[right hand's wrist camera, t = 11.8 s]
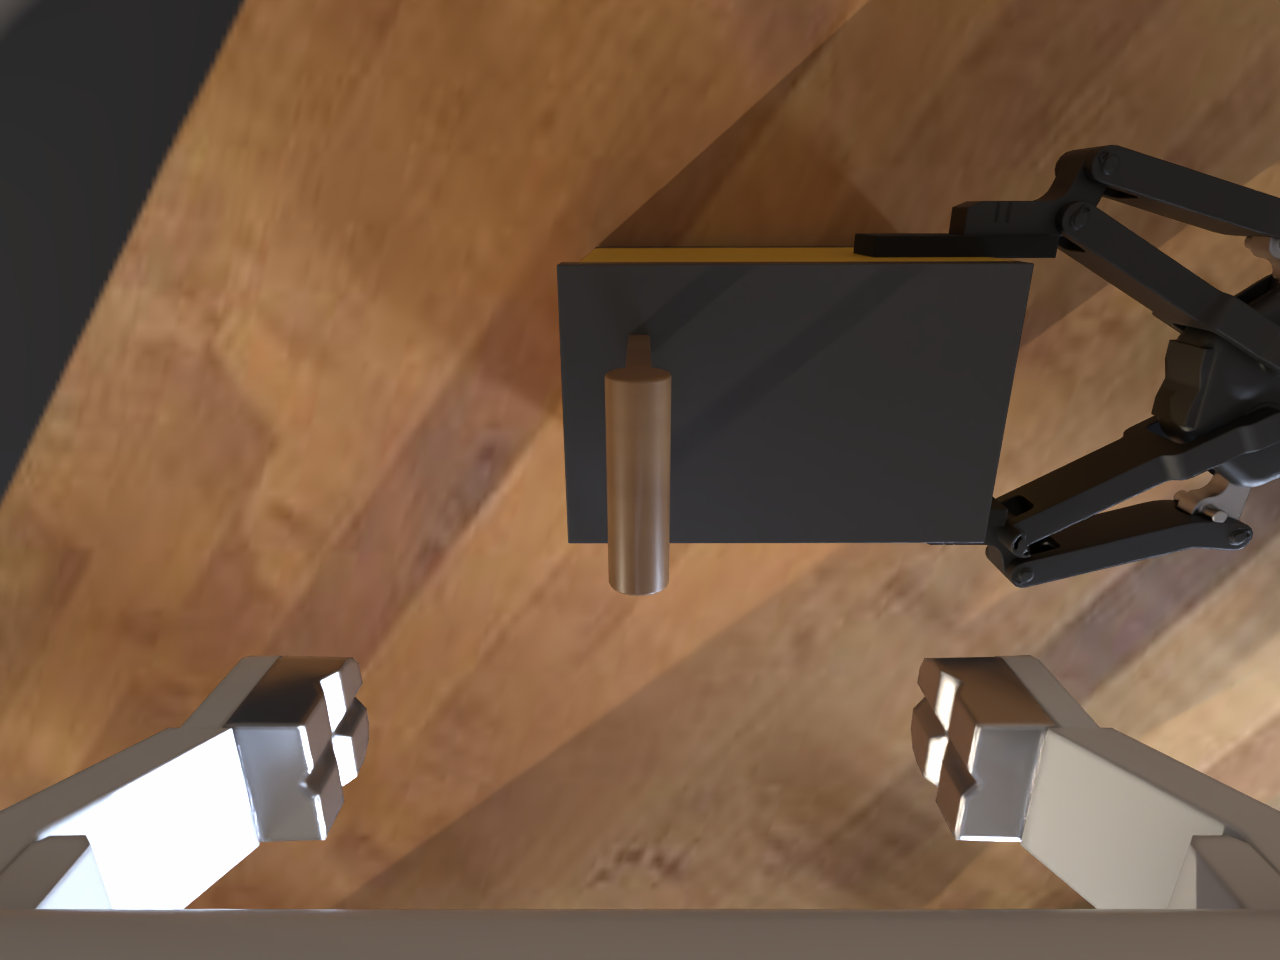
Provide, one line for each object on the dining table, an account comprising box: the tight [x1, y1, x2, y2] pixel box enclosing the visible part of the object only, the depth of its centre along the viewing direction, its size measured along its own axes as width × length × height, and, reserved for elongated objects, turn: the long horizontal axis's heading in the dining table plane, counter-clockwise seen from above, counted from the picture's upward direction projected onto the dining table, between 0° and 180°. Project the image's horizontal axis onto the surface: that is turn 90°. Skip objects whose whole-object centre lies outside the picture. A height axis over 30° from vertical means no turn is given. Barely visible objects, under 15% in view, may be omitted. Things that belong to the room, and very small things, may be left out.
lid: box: [557, 261, 1034, 596], centre depth 22 cm, size 15×10×9 cm, turn 90°
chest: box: [580, 246, 1013, 262], centre depth 31 cm, size 15×10×10 cm
